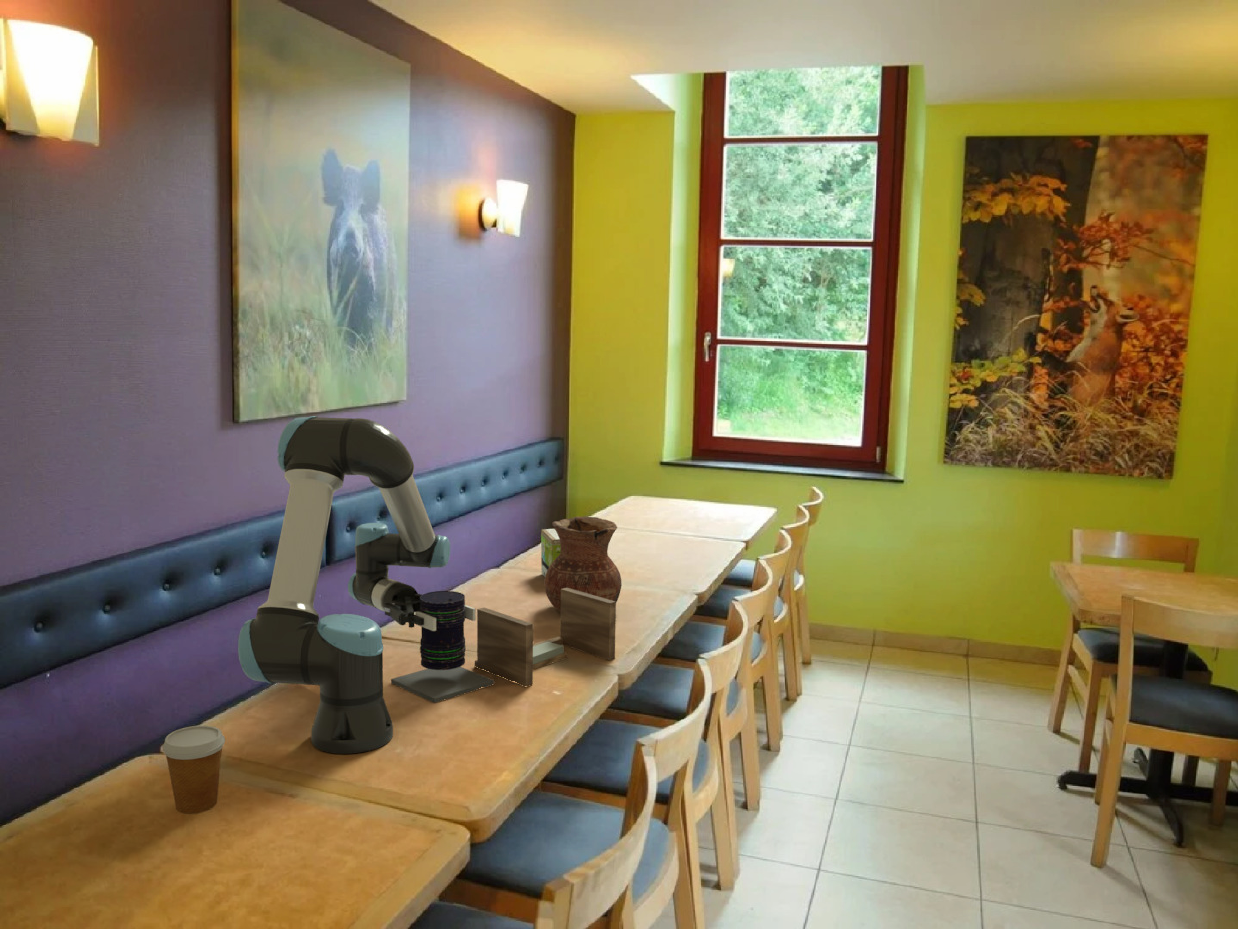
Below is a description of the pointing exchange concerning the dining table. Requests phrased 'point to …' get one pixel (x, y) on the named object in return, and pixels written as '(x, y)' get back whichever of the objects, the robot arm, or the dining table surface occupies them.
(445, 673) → the charcoal mat
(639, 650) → the dining table surface
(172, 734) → the disposable coffee cup
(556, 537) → the tea box
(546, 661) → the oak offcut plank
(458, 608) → the dark blue cylinder
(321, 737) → the robot arm
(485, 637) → the wooden bookend pair
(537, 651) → the grey offcut plank
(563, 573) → the jug
